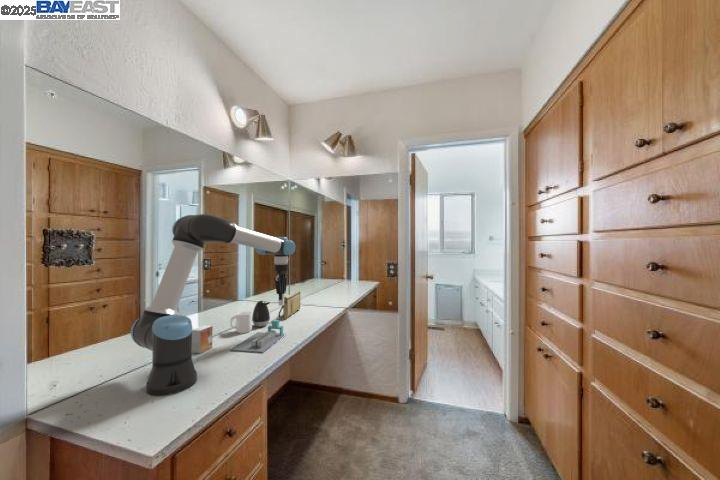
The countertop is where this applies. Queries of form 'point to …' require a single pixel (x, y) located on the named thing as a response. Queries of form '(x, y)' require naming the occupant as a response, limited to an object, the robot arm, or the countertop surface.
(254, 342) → the swing arm
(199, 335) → the small box
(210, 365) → the countertop surface
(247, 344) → the mat
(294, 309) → the clutch purse
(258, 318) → the pump dispenser
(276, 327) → the lock collar
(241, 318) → the mug
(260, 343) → the tongs base
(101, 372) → the countertop surface
